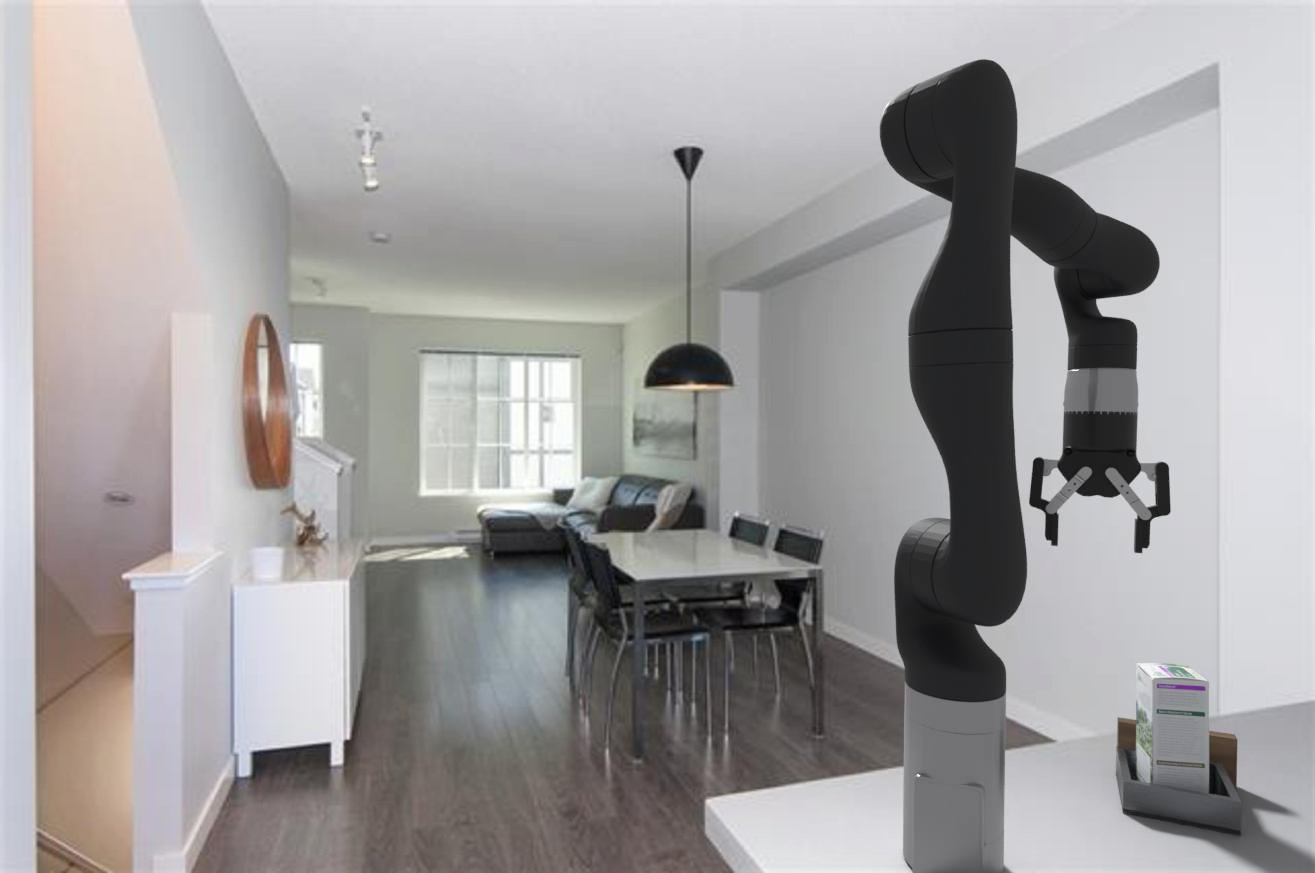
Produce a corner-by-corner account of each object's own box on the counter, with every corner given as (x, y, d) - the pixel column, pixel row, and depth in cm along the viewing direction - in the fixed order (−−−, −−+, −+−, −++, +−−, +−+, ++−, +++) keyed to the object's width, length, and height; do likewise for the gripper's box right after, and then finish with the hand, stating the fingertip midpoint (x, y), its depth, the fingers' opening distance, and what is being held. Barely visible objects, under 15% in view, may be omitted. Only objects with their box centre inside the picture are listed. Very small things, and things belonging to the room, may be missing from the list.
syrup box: (1211, 813, 86) (1213, 680, 86) (1150, 806, 88) (1152, 675, 87) (1189, 789, 92) (1191, 664, 91) (1132, 783, 93) (1134, 660, 93)
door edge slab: (1236, 790, 93) (1237, 739, 92) (1117, 769, 98) (1118, 721, 98) (1233, 784, 94) (1234, 734, 94) (1116, 764, 99) (1117, 717, 99)
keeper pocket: (1240, 835, 82) (1241, 802, 82) (1122, 812, 87) (1123, 781, 87) (1221, 792, 92) (1221, 762, 92) (1115, 774, 97) (1116, 745, 97)
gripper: (1031, 407, 92) (1026, 547, 92) (1176, 409, 86) (1171, 559, 86) (1033, 409, 99) (1029, 539, 99) (1168, 411, 92) (1164, 550, 93)
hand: (1095, 548), depth 92 cm, fingers open, 8 cm apart
